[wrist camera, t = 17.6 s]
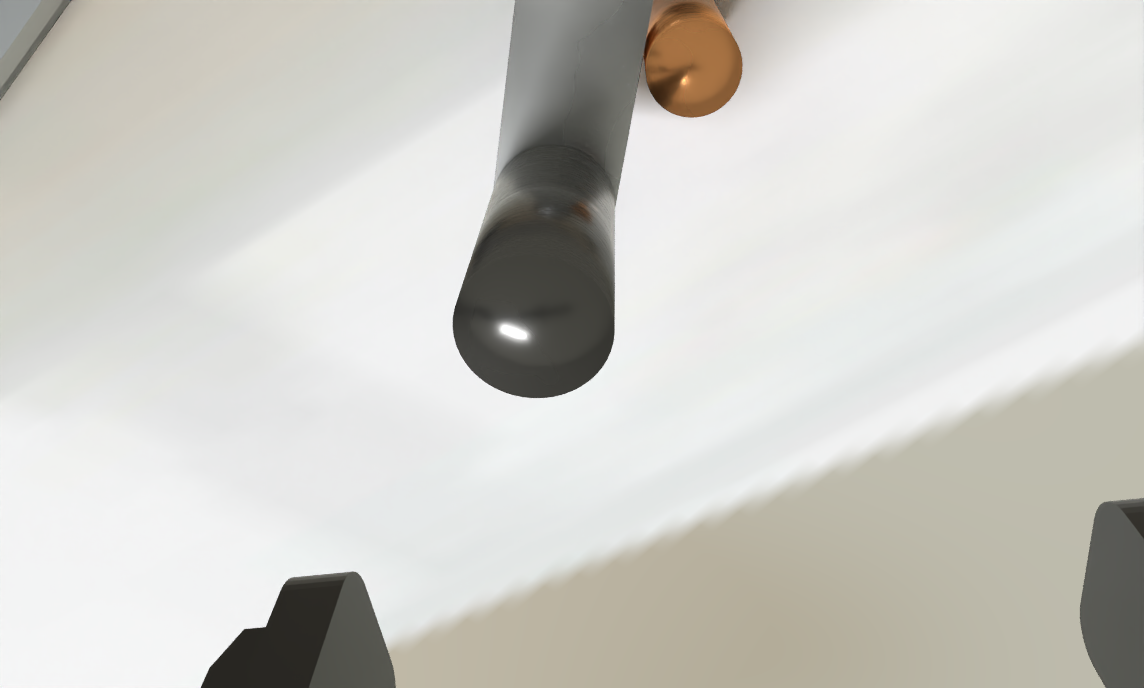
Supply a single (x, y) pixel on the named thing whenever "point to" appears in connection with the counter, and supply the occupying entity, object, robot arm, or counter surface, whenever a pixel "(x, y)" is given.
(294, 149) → the counter surface
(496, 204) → the crank
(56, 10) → the tray
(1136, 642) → the robot arm
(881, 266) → the counter surface
